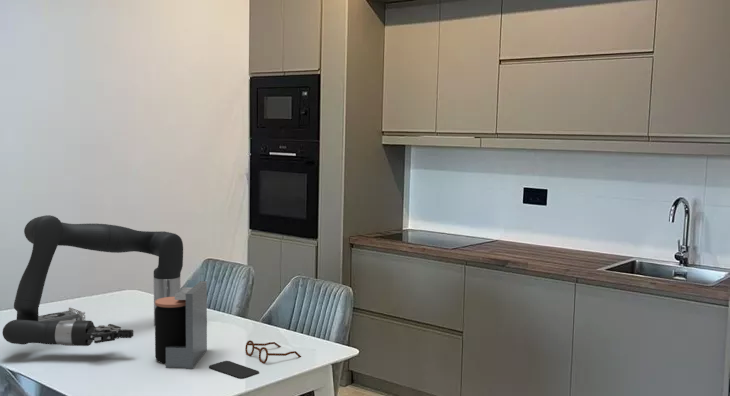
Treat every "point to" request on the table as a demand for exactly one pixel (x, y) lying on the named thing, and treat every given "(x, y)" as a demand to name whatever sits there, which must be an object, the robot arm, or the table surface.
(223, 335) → the table surface
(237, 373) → the phone
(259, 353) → the glasses
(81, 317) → the graphics card
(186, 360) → the bracket
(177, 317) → the coffee jar
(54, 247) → the robot arm
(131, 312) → the table surface
